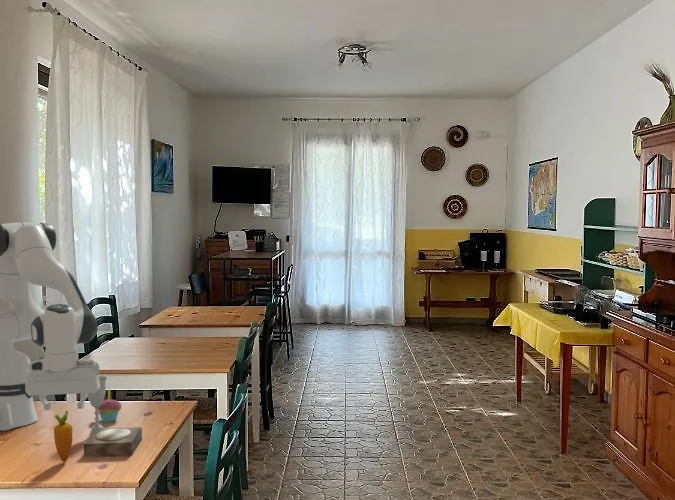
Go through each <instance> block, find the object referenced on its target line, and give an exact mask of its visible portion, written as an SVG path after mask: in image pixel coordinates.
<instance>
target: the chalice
mask: <svg viewBox="0 0 675 500" xmlns="http://www.w3.org/2000/svg"><path fill="white" fill-rule="evenodd" d="M107 379H108V378H107V376H104V375H101V376H100V375H99V380H100V388H99V390H98V391H97V392H95V393H88V396H87V399H88V401H89V403H90V405H91V406H92V408H94V409H95V411H94V415H95V418H94V421H95V424H94V425H93V426H92V427H91V430H90V432H89V435H90V436H91V435H92V434H93V432H94V431H95V430H96V429H104V428H105V427H104V425H102V424H100V420H101V417H100V414H99V410H98V408H99V406H101V404H102V402H103V400H105V397H106V392H107V387H106V386H107V384H106V382H107Z"/></svg>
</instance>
